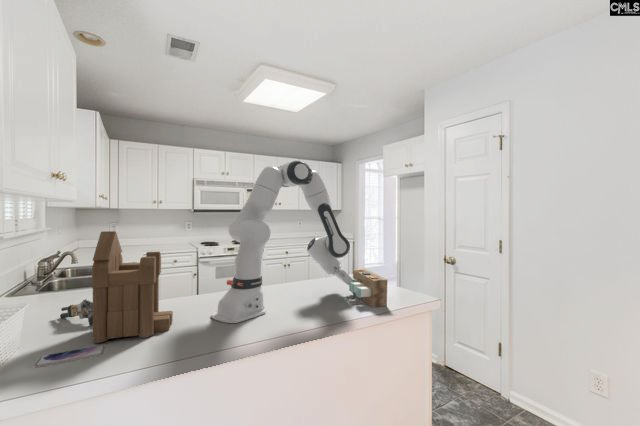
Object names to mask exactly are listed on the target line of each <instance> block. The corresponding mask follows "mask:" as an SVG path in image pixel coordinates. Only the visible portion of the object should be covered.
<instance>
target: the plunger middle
mask: <svg viewBox="0 0 640 426" xmlns="http://www.w3.org/2000/svg"><path fill="white" fill-rule="evenodd" d="M356 286H358V287H364V283H363V282H354V283H352V282H351V283H350V284H349V285H348V287H349V289H348V290H349V292H350V293H352V294H355V293H354V292H356Z"/></svg>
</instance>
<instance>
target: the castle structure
mask: <svg viewBox="0 0 640 426" xmlns="http://www.w3.org/2000/svg"><path fill="white" fill-rule="evenodd" d="M122 253H123V250H122V247H121V243H120V241H119V238H118V234H117V231H115V230H113V231H111V230H110V231H107V230H106V231H101V232H100V233H99V236H98V239H97V243H96V247H95V251H94V254H93V257H92V261H93V264H92V265H91V267H92V268H91V288H92V302H93V327H92V342H93V343H95V344H98V343H99V344H101V343H104V342H106V341H108V340H109V339H115V338H127V337H135V336H136V337H137V336H138V337H139V338H142V339H143V338H149V337H151V336H153V335H154V333H159V331H160V332H167V331H169V330H170V328H171V326H172V323H173V313H174V312H173V310H166V311H159V306H160V305H159V299H160V298H159V297H160V295H159V292H160V291H159V288H160V287H159V286H160V285H159V283H160V280H159V279H160V275H161V273H162V254H161V252H160V251H147V252H146V255H145V256H142V257H140V259H139V260H140V261H139V262H123V255H122Z"/></svg>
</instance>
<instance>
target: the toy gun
mask: <svg viewBox="0 0 640 426" xmlns="http://www.w3.org/2000/svg"><path fill="white" fill-rule="evenodd" d="M60 310H61V311H62V312H63V313H61V314H60V316H59V318H60V319H67V318H75V317H79V320H80V319H81V320H83V319H87V320H88V321H87V323H88V325H89V327H90V328H93V301H90V300H87V299H83V300H82V301H81V302H80V303H77V304H70V305H69V306H65V307H61V309H60ZM64 311H67V312H64Z"/></svg>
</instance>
